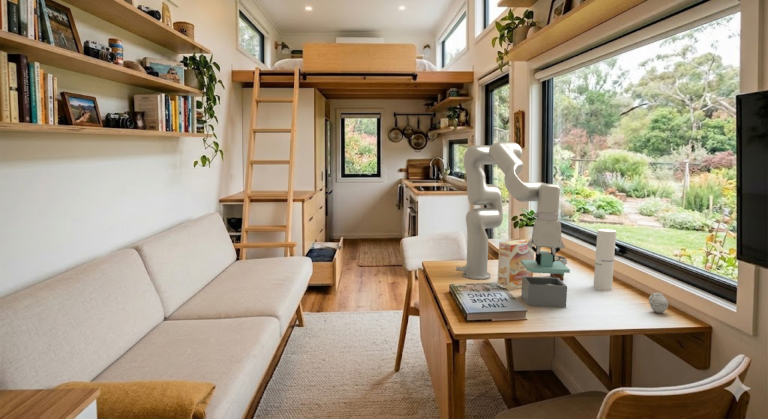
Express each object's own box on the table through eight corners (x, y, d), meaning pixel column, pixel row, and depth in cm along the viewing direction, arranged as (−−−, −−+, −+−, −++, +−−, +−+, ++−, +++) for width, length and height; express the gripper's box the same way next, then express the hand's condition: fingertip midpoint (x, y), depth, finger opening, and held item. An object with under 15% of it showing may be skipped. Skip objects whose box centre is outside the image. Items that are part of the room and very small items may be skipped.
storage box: (527, 305, 174) (528, 284, 173) (521, 295, 186) (522, 276, 185) (566, 307, 172) (567, 286, 171) (557, 297, 184) (558, 277, 183)
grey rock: (659, 309, 172) (661, 290, 171) (672, 315, 165) (673, 296, 164) (643, 309, 172) (645, 290, 171) (655, 315, 165) (657, 296, 164)
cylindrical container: (610, 291, 193) (615, 232, 190) (592, 288, 197) (596, 230, 194) (612, 287, 199) (617, 230, 196) (594, 284, 203) (598, 228, 200)
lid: (527, 273, 172) (528, 256, 171) (520, 265, 185) (521, 248, 184) (569, 275, 170) (570, 257, 170) (559, 266, 183) (560, 250, 182)
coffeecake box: (509, 290, 192) (511, 244, 190) (496, 286, 198) (498, 241, 196) (533, 285, 200) (535, 241, 198) (520, 281, 206) (522, 238, 204)
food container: (568, 283, 204) (569, 261, 203) (553, 282, 206) (555, 260, 204) (563, 276, 216) (564, 255, 215) (549, 275, 218) (550, 254, 216)
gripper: (526, 217, 172) (524, 265, 174) (573, 218, 170) (570, 267, 173) (522, 214, 179) (520, 260, 182) (567, 215, 178) (564, 262, 180)
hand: (544, 263), depth 177 cm, fingers closed on lid, 4 cm apart
